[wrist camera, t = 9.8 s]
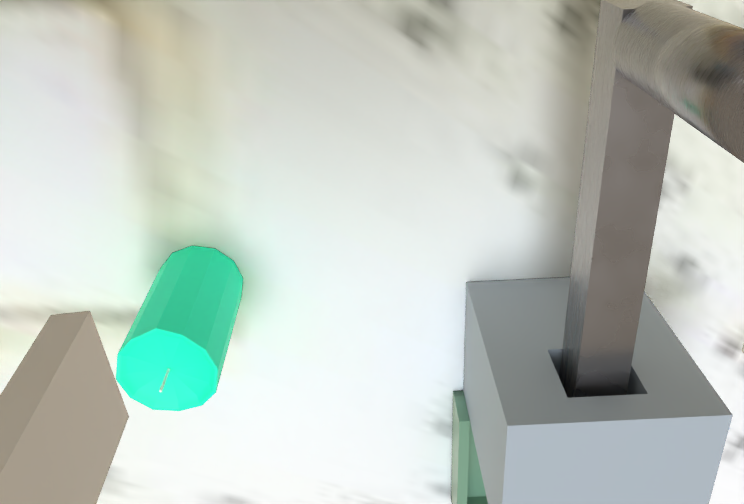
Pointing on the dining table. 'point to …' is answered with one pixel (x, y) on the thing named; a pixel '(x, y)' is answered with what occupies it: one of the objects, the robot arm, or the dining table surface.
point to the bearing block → (583, 408)
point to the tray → (464, 458)
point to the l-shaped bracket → (638, 167)
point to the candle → (182, 331)
